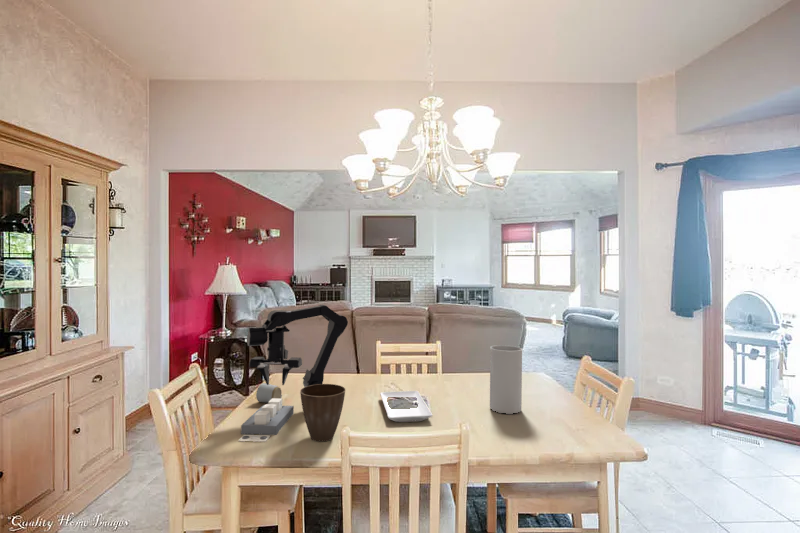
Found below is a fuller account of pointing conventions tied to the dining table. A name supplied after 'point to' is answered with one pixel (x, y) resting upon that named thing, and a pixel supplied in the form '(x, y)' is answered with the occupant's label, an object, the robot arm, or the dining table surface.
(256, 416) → the button
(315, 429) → the plant pot
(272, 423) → the button board
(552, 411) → the dining table surface
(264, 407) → the button middle
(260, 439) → the pattern card
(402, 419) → the tray
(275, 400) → the button
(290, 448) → the dining table surface
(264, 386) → the ceramic mug
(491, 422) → the dining table surface
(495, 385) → the cylinder vase
